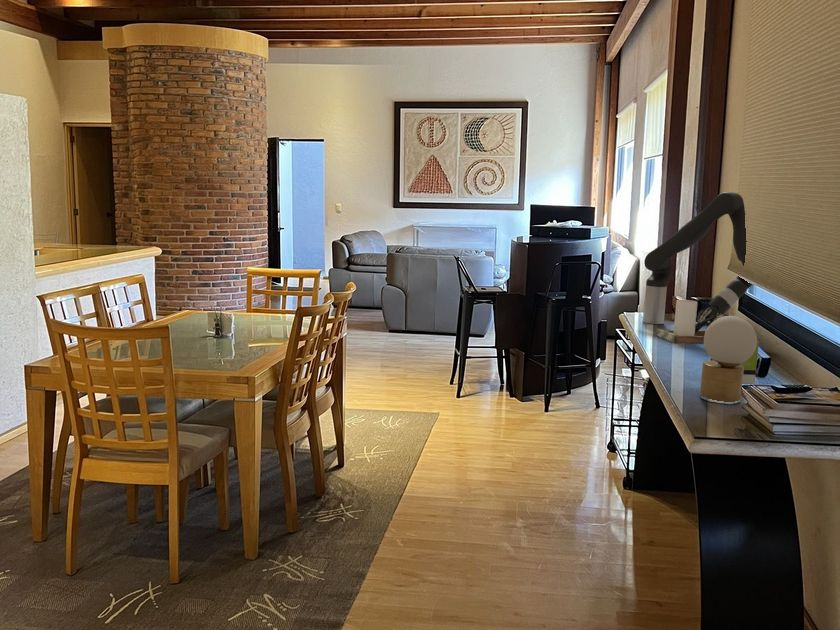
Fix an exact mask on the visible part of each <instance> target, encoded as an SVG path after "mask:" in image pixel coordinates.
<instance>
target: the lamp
mask: <svg viewBox="0 0 840 630" xmlns="http://www.w3.org/2000/svg"><path fill="white" fill-rule="evenodd" d="M705 330H706V332H705V335H704V343H703V345H704V349H705V351H706V353H707V355H708V356H709V357H711V358H712V359H713V360H711V361H710V360H704V361H702V367H701V368H702V369H701V377H700V387H699V396H700V395H701V396H703V397H706V398H708V399H712V400H717V401H724V402H735V401H739V400H740V399H741V398H742V391H741V390H740V389H741V387H742V388H743V386H742V382H743V373H744V366H742V365H740V364H742V363H743V362H745V361H747V360H748V359H749V358H750V357H751V356H752V355H753V353H754V352H755V349H756V346H757V341H758V337H757V333H756V330H755V329H754V327H753V325H751V324H750V323H749V322H748V320H745V319H744V318H742V317H739V316H735V315H725V316H724V315H723V316H721V317H718V319H716V320H715V321H713V322H712V323H711V324H710V325H709V326H707V328H706V329H705ZM741 400H742V399H741Z"/></svg>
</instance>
